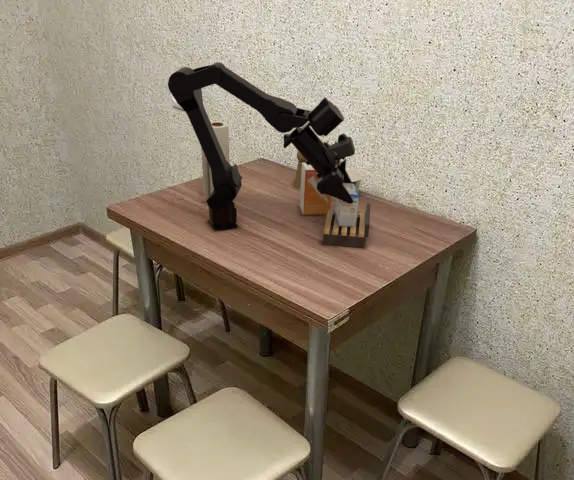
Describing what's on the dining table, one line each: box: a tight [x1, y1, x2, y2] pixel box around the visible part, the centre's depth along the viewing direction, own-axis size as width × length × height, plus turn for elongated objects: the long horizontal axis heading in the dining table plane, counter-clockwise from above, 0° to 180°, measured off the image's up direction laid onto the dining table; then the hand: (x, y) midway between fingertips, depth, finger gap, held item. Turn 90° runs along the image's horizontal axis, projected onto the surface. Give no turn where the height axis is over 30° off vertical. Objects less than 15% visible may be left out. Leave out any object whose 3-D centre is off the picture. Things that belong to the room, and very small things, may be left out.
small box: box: [299, 163, 333, 216], centre depth 161 cm, size 8×6×13 cm
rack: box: [322, 203, 372, 249], centre depth 150 cm, size 11×14×6 cm
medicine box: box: [334, 183, 360, 228], centre depth 147 cm, size 8×4×9 cm, turn 4°
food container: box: [332, 167, 364, 201], centre depth 173 cm, size 12×12×6 cm
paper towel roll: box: [200, 121, 230, 202], centre depth 164 cm, size 7×6×21 cm
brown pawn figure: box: [294, 150, 306, 189], centre depth 178 cm, size 6×6×11 cm
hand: (352, 196), depth 146 cm, fingers closed on medicine box, 8 cm apart
